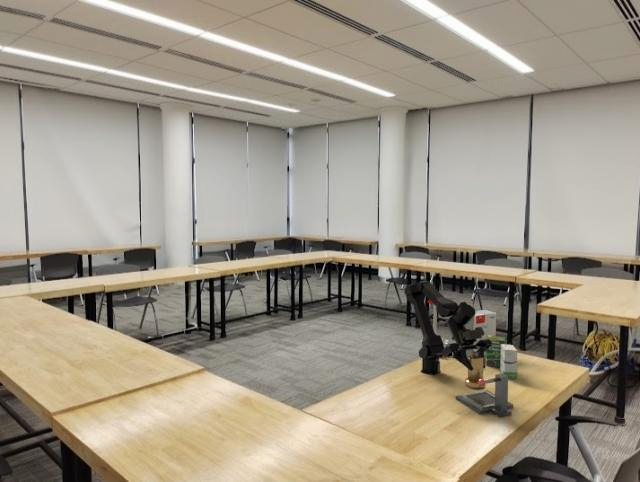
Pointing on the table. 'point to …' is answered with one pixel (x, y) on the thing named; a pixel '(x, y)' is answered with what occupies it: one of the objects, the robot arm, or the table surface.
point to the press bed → (489, 398)
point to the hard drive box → (482, 325)
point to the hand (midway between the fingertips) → (478, 369)
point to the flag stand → (436, 324)
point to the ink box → (508, 361)
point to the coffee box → (494, 351)
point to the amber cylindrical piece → (475, 372)
